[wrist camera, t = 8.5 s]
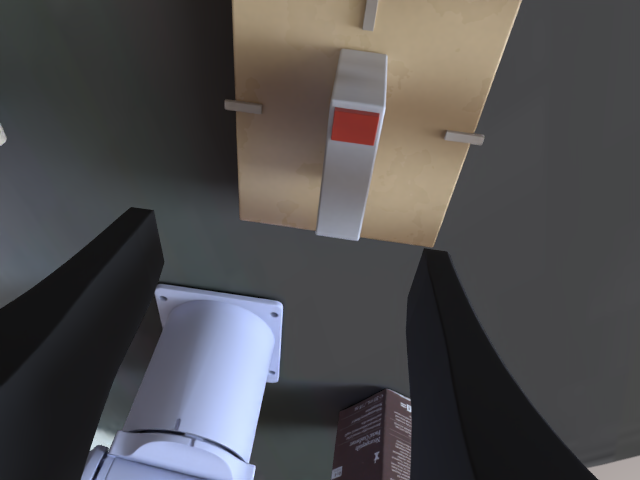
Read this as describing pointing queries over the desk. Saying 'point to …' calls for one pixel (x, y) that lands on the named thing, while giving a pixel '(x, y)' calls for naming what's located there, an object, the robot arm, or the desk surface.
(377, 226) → the panel
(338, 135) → the grey rectangular block
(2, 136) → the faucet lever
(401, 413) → the box
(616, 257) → the desk surface
